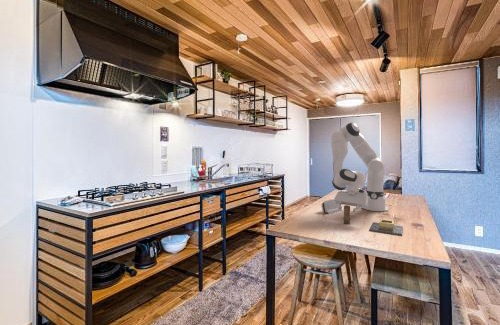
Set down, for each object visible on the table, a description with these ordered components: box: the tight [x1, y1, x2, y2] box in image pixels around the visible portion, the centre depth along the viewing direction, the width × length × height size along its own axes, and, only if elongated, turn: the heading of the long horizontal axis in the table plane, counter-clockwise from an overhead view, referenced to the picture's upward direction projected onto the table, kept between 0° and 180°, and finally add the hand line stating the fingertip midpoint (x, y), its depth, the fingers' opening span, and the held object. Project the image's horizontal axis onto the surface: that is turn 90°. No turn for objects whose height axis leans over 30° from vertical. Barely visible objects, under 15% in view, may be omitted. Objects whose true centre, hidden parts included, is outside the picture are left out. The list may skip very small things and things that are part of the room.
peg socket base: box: [369, 219, 404, 237], centre depth 150 cm, size 16×16×4 cm
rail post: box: [343, 205, 351, 225], centre depth 161 cm, size 4×4×11 cm
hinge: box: [321, 198, 343, 215], centre depth 192 cm, size 17×5×10 cm, turn 126°
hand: (346, 210), depth 162 cm, fingers open, 8 cm apart
